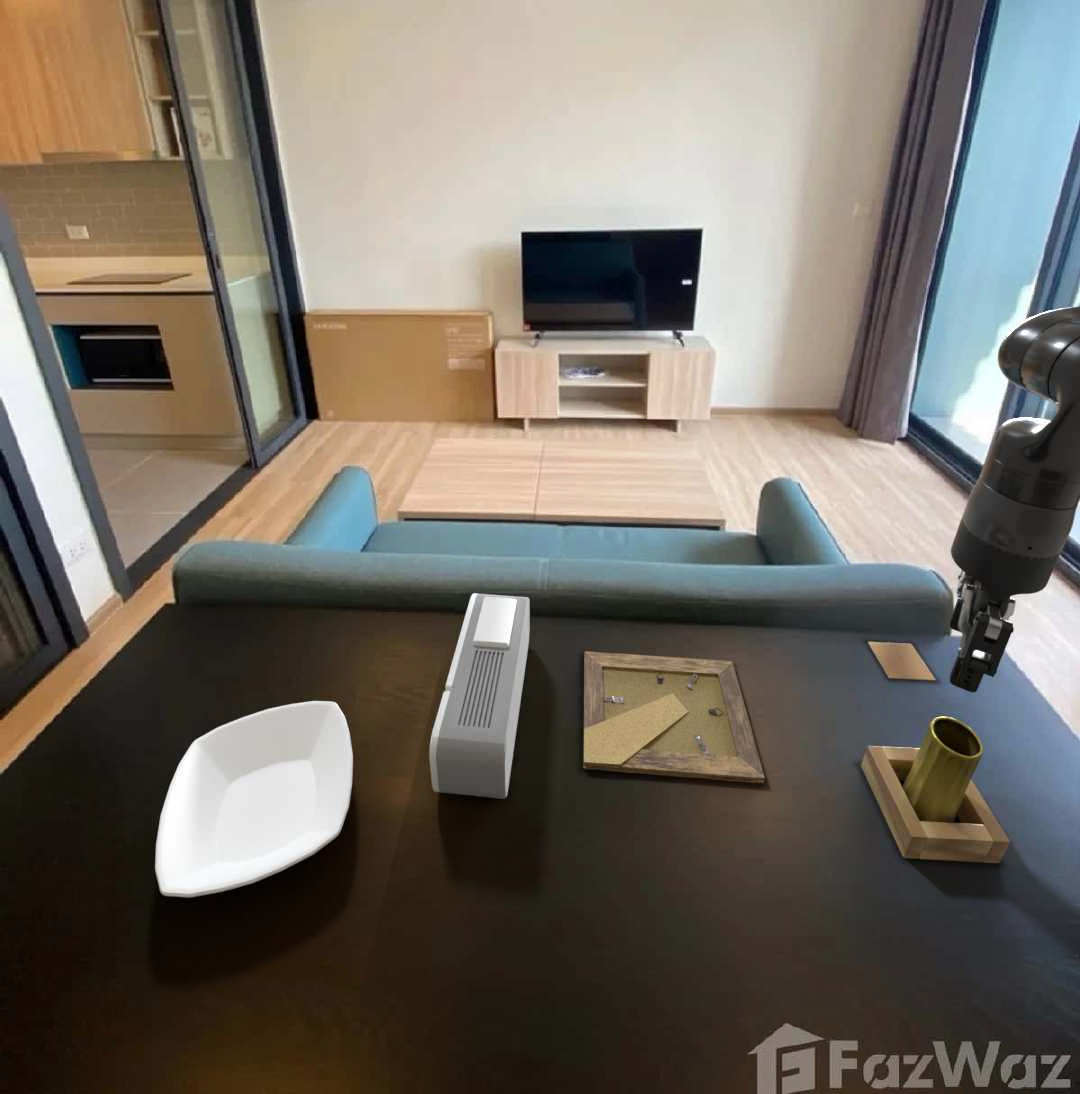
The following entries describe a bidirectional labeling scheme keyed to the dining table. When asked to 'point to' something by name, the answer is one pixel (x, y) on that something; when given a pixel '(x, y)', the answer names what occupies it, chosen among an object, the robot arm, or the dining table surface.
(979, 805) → the holder
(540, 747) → the dining table surface
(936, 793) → the vase
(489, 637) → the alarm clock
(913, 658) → the coaster
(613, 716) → the picture frame
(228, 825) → the bowl
